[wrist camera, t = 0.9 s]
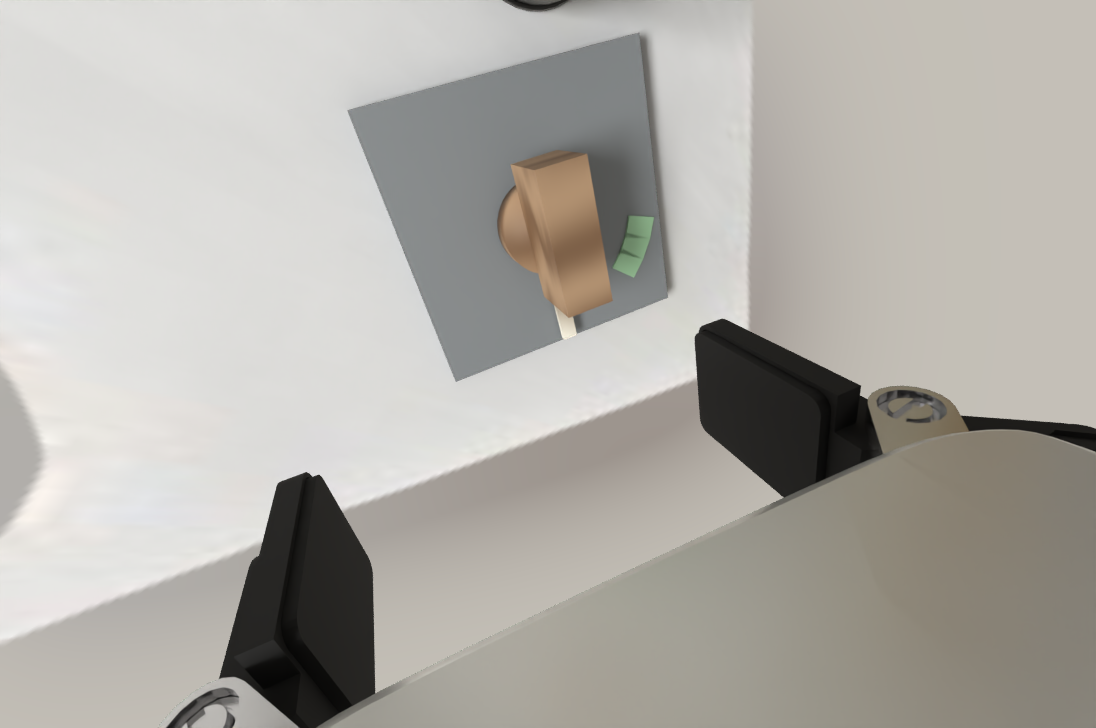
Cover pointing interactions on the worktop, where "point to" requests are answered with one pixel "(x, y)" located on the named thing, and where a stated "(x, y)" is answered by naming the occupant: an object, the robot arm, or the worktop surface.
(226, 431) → the worktop surface
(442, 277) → the dial plate
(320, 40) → the worktop surface
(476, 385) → the worktop surface
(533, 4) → the french press
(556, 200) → the knob
